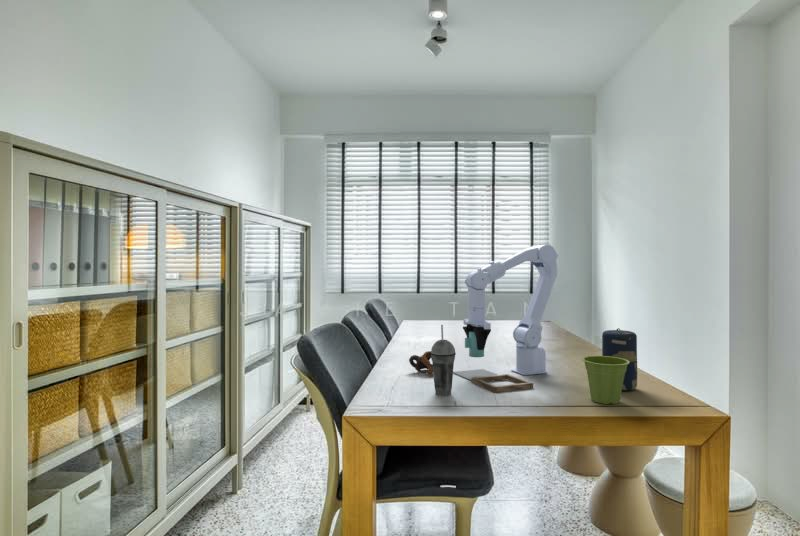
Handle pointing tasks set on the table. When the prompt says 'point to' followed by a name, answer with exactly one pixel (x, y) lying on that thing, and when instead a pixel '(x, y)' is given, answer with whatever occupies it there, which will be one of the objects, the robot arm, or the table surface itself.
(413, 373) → the table surface
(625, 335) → the canister
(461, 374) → the gray mat
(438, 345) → the beverage cup
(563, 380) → the table surface
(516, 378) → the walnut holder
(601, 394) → the plant pot
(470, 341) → the teal jug
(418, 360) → the brown looped knot
